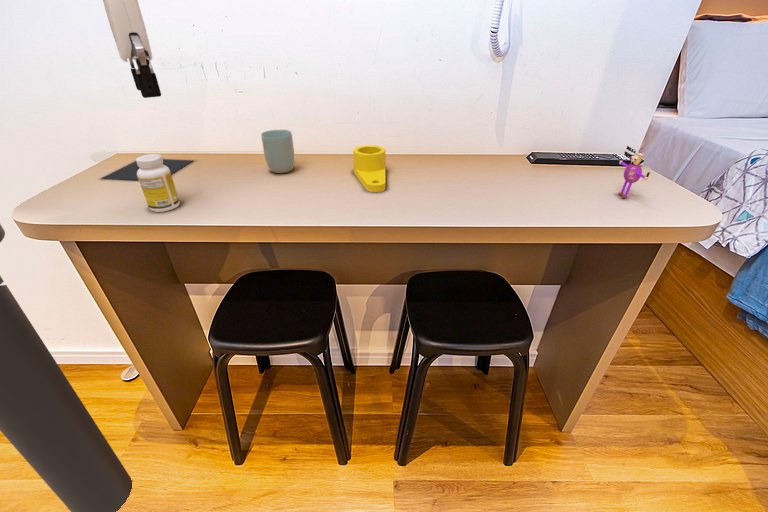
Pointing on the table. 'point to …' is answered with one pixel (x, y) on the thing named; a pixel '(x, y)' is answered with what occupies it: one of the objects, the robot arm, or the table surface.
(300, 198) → the table surface
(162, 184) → the pill bottle
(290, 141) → the cup
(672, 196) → the table surface
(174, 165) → the mat
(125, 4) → the robot arm
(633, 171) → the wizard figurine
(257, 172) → the table surface
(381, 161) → the crank
